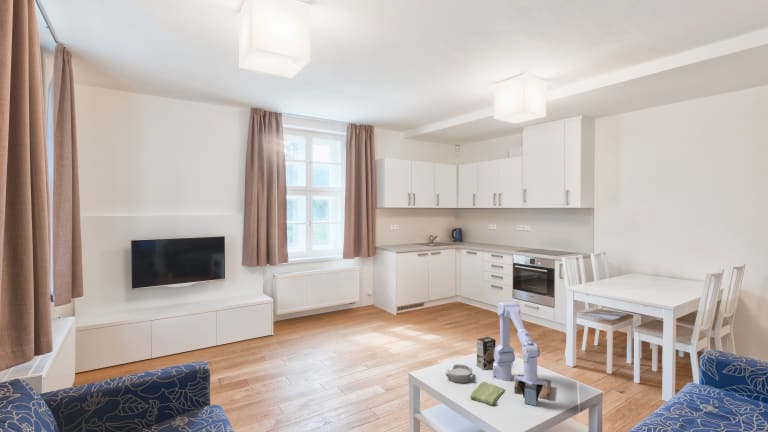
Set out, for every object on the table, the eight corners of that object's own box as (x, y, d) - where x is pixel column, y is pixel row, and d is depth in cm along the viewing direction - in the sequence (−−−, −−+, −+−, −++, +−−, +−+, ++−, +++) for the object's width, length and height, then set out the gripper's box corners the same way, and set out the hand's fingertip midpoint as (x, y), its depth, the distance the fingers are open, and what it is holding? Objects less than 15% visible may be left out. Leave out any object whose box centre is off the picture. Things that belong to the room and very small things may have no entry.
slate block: (524, 403, 176) (524, 388, 175) (525, 398, 180) (525, 384, 180) (536, 405, 173) (536, 390, 173) (536, 400, 178) (536, 386, 178)
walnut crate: (514, 395, 185) (514, 386, 185) (517, 382, 198) (517, 374, 198) (549, 402, 178) (549, 393, 178) (551, 389, 191) (551, 380, 191)
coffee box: (484, 370, 213) (483, 342, 212) (476, 366, 219) (476, 338, 218) (496, 366, 217) (495, 339, 217) (488, 362, 223) (488, 336, 222)
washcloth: (506, 392, 189) (506, 386, 189) (494, 408, 175) (494, 401, 175) (481, 385, 197) (481, 379, 197) (468, 399, 183) (468, 393, 183)
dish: (444, 382, 201) (444, 372, 200) (449, 370, 214) (449, 362, 213) (472, 386, 195) (472, 376, 195) (475, 374, 208) (475, 365, 208)
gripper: (513, 370, 175) (513, 399, 176) (546, 376, 169) (546, 406, 170) (515, 364, 182) (515, 392, 182) (547, 370, 175) (547, 398, 176)
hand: (530, 398), depth 176 cm, fingers closed on slate block, 5 cm apart
